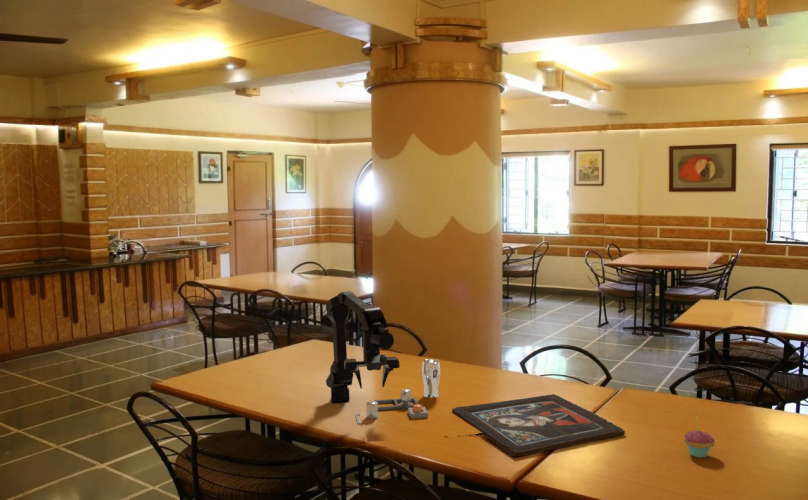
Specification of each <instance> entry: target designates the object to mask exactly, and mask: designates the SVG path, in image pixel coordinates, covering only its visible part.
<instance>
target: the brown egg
mask: <svg viewBox="0 0 808 500" xmlns="http://www.w3.org/2000/svg"><path fill="white" fill-rule="evenodd" d="M413 405H414V412H422V407H423V405H422V404H419V403H418V404H417V405H415V404H413Z"/></svg>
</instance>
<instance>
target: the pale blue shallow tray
mask: <svg viewBox="0 0 808 500" xmlns="http://www.w3.org/2000/svg"><path fill="white" fill-rule="evenodd" d="M354 414H355V413H354ZM354 416H355V419H356V420H355V421H356V423H357V425H363V424H364V423H363V422H360V421H359V418H358V416H361V414H360V413H356V414H355V415H354Z"/></svg>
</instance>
